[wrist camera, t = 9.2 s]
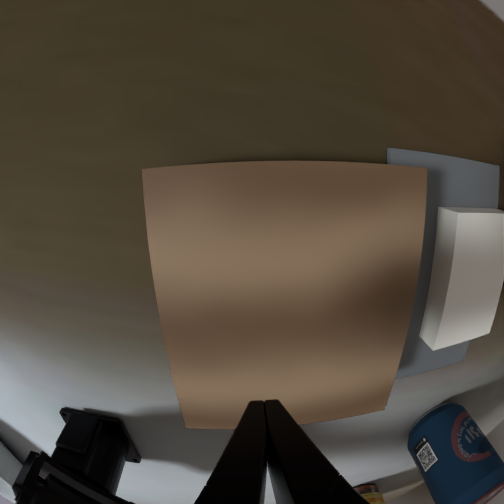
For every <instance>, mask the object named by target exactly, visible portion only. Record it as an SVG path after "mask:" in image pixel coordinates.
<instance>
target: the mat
mask: <svg viewBox="0 0 504 504" xmlns="http://www.w3.org/2000/svg"><path fill="white" fill-rule="evenodd" d="M387 164H389V165H401V166H412V167H421V168H427V194H426V212H425V225H424V236H423V245H422V254H421V261H420V268H419V275H418V281H417V287H416V293H415V298H414V304H413V309H412V314H411V318H410V323H409V327H408V332H407V336H406V340H405V344H404V348H403V351H402V355H401V359H400V362H399V366H398V369H397V373H396V376H395V379H399V378H403V377H407V376H411V375H415V374H419V373H423V372H426V371H430V370H434V369H437V368H440V367H444V366H447V365H450V364H454V363H457V362H460V361H463V360H464V357H465V354H466V351H467V349H468V346H469V343H470V340H468V341H464V342H461V343H458V344H455V345H451V346H448V347H445V348H441V349H438V350H434V351H433V350H432V349H431V348H430V347H429V346H428V345H427V344H426V343H425V342H424V341H423V339H422V338H421V337H420V336H419V335H420V330H421V326H422V322H423V317H424V312H425V307H426V302H427V297H428V291H429V285H430V279H431V273H432V265H433V258H434V249H435V240H436V229H437V215H438V207H467V208H495V209H498V198H499V172H500V166H497V165H492V164H488V163H483V162H478V161H474V160H468V159H463V158H458V157H452V156H446V155H440V154H433V153H427V152H419V151H412V150H404V149H395V148H387ZM395 379H394V380H395Z"/></svg>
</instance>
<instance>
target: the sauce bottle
mask: <svg viewBox="0 0 504 504" xmlns="http://www.w3.org/2000/svg"><path fill="white" fill-rule="evenodd" d="M354 489H355V490H356V491H357V492H358V493H359V494H360V495H361V496H362V497H363V498H365V499H366V500H367V501H368V502H369V503H371V504H385V502H384V499H383V496H382V494H380V492H379V489H378V487H377V486H375V485H361V486H357V487H355V488H354Z"/></svg>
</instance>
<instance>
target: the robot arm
mask: <svg viewBox="0 0 504 504" xmlns="http://www.w3.org/2000/svg"><path fill="white" fill-rule="evenodd" d="M60 414H61V416H62V418H63V420H64V421H65V423H66V425H65V426H64V428H63V430H62V432H61V434H60V436H59V438H58V440H57V441H56V448H55V450H54V452H53V454H52V456H51V458H50V457H49V456H48V454H46V453H45V452H44V451H41V453H40V454H39V453H36V452H33V451H31V452H30V453H29V455H28V457H27V459H26V461H25V463H24V464H23V466H22V468H21V470H20V472H19V474H18V476H17V478H16V480H15V482H14V484H13V486H12V490H13V492H14V495H15V499H14V500H15V501H16V503H15V504H135V503H133V502H128V501H126V500H124V499H122V498H120V497H117V496H115V495H116V491H117V488H118V484H119V481H120V478H121V474H122V471H123V468H124V464H125V461H128V462H134V463H140V461H141V457H140V455H139V454H138V452H137V450H136V448H135V446H134V444H133V442H132V440H131V438H130V436H129V434H128V432H127V430H126V428H125V426H124V424H123V422H122V421H121V420H119V419H117V418H111V417H105V416H99V415H94V414H88V413H83V412H78V411H74V410H69V409H65V408H62V409H61V410H60ZM267 464H268V470H269V474H270V479H271V483H272V487H273V491H274V496H275V500H276V504H371V503H369V502H368V501H367V500H366V499H365V498H363V497H362V496H361V495H360V494H359V493H358V492H357V491H356V490H355V489H354V488H353V487H352V486H351V485H350V484H349V483H348V482H347V481H346V480H345V479H344V477H343V476H342V475H339V474H340V473H339V472H338V471H337V470H336V469H335V468H334V466H333V465H332V464H331V463H330V462H329V461H328V459H327V458H326V457H325V456H324V455H323V454H322V452H321V451H320V450H319V449H318V448H317V447H316V445H315V444H314V443H313V442H312V441H311V439H310V438H309V437H308V436H307V435H306V433H305V432H304V431H303V430H302V428H301V427H300V426H299V425H298V424H297V422H296V421H295V420H294V419H293V417H292V416H291V415H290V414H289V412H288V411H287V410H286V408H285V407H284V406H283V405H282V403H281V402H280V401H279V400H278V399H271V400H265V401H263V400H253V401H250V402H249V403H248V405H247V407H246V409H245V411H244V413H243V415H242V417H241V419H240V421H239V423H238V425H237V427H236V429H235V431H234V433H233V435H232V437H231V438H230V440H229V442H228V444H227V446H226V448H225V450H224V452H223V454H222V456H221V457H220V459H219V461H218V463H217V465H216V467H215V468H214V470H213V472H212V474H211V476H210V478H209V479H208V481H207V483H206V485H207V486H204V488H203V490H202V491H201V493H200V495H199V497H198V498H197V500H196V501H195V503H194V504H264V499H265V487H266V475H267ZM39 474H41V475H42V476H44V477H45V480H44V479H43V478H41V477H40V476H38V475H39Z"/></svg>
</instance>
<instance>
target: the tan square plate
mask: <svg viewBox="0 0 504 504" xmlns="http://www.w3.org/2000/svg"><path fill="white" fill-rule="evenodd" d="M142 177H143V192H144V204H145V216H146V226H147V235H148V243H149V252H150V259H151V267H152V274H153V280H154V287H155V293H156V299H157V305H158V311H159V316H160V321H161V327H162V332H163V337H164V342H165V347H166V351H167V356H168V360H169V365H170V369H171V373H172V377H173V382H174V386H175V390H176V394H177V397H178V401H179V405H180V409H181V412H182V416H183V419H184V423H185V426H186V428H191V429H236V427H237V425H238V423H239V421H240V419H241V417H242V415H243V413H244V411H245V409H246V407H247V405H248V403H249V402H250V401H253V400H263V401H265V400H271V399H278V400H279V401H280V402H281V403H282V405H283V406H284V407H285V408H286V410H287V411H288V412H289V414H290V415H291V416H292V417H293V419H294V420H295V421H296V422H297V424H298V425H300V424H308V423H316V422H323V421H330V420H336V419H342V418H347V417H353V416H358V415H363V414H367V413H372V412H376V411H381V410H384V409H385V406H386V404H387V401H388V398H389V395H390V392H391V389H392V386H393V383H394V379H395V376H396V373H397V369H398V366H399V362H400V359H401V355H402V351H403V348H404V344H405V340H406V336H407V332H408V327H409V323H410V318H411V314H412V309H413V304H414V298H415V293H416V287H417V281H418V275H419V268H420V261H421V254H422V245H423V236H424V225H425V212H426V194H427V168H421V167H412V166H401V165H389V164H375V163H358V162H335V161H248V162H224V163H207V164H193V165H180V166H169V167H159V168H149V169H142Z"/></svg>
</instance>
